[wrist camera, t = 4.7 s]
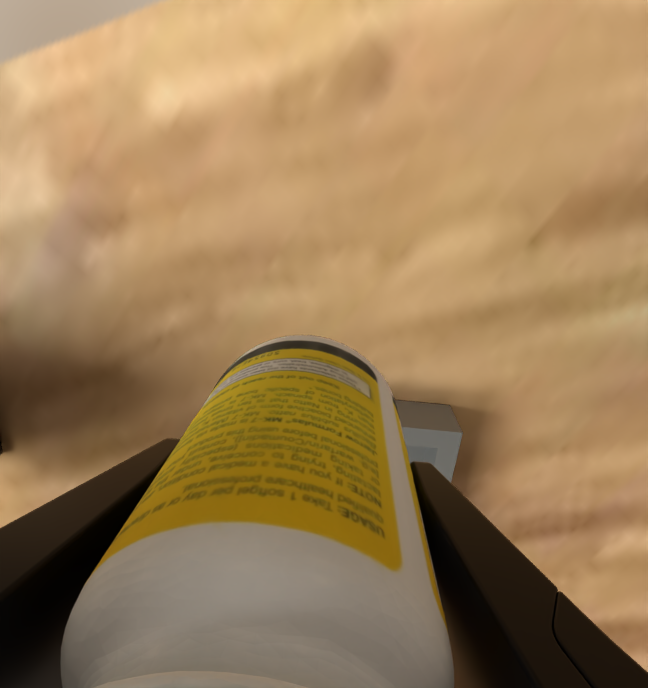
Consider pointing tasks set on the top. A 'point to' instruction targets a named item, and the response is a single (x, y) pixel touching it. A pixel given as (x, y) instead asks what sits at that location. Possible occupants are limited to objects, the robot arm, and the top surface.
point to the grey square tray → (431, 434)
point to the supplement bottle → (272, 544)
